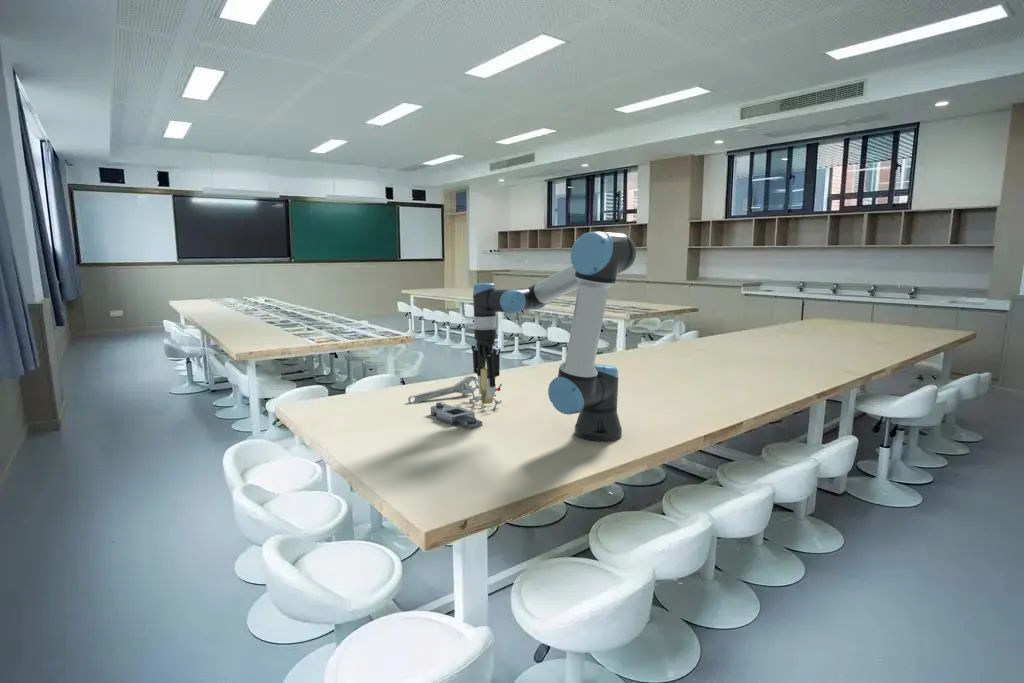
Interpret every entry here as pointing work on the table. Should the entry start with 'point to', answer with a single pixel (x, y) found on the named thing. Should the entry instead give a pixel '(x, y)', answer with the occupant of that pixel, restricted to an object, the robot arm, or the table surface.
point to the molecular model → (480, 396)
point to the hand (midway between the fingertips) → (486, 394)
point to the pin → (485, 387)
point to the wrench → (445, 390)
